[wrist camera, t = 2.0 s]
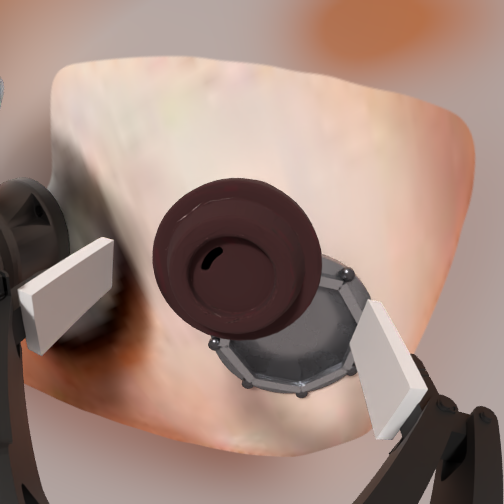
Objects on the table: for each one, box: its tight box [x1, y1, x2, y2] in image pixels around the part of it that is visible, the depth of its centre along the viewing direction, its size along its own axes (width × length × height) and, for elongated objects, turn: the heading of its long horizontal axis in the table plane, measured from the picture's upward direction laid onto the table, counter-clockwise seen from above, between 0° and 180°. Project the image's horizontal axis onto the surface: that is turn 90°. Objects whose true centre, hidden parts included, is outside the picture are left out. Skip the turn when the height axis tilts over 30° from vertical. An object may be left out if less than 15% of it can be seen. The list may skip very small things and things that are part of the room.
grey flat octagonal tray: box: [208, 254, 371, 398], centre depth 33 cm, size 18×18×2 cm
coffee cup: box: [153, 178, 322, 341], centre depth 24 cm, size 10×10×15 cm
